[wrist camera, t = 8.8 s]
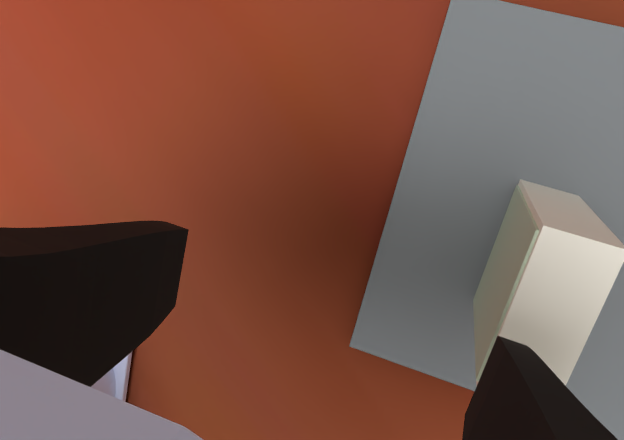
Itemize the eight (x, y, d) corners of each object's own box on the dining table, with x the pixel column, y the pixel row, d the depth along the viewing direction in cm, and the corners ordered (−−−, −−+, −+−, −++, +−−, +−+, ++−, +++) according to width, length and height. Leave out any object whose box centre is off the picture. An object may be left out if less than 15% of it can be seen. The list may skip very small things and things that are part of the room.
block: (526, 320, 20) (550, 418, 14) (471, 302, 20) (473, 390, 15) (578, 195, 18) (629, 250, 13) (517, 178, 19) (540, 224, 13)
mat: (704, 464, 20) (711, 475, 19) (352, 339, 23) (349, 346, 22) (927, 96, 15) (943, 96, 15) (454, -7, 18) (453, -10, 18)
